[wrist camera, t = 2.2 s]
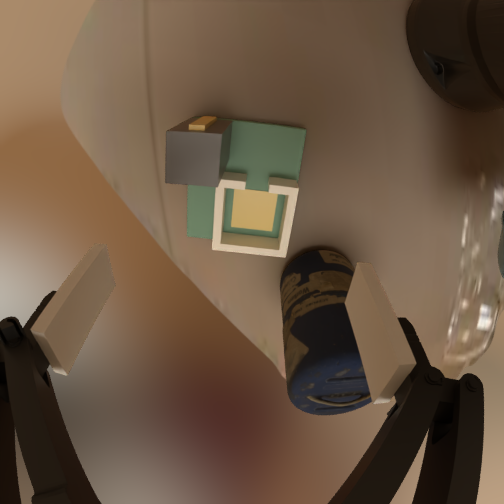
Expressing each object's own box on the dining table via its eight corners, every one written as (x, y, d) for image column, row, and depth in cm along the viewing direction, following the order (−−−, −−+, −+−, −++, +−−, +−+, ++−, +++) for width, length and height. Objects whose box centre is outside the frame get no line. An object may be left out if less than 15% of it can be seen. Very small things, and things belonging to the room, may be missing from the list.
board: (193, 116, 27) (191, 118, 26) (304, 128, 28) (306, 130, 27) (189, 231, 34) (187, 236, 33) (285, 241, 34) (285, 247, 33)
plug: (191, 114, 26) (166, 125, 19) (233, 116, 26) (222, 128, 19) (188, 157, 28) (165, 183, 22) (228, 160, 28) (217, 187, 22)
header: (219, 171, 29) (216, 178, 27) (296, 180, 29) (298, 188, 27) (215, 237, 33) (212, 249, 31) (284, 245, 33) (285, 257, 31)
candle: (294, 235, 34) (316, 366, 19) (366, 255, 35) (419, 375, 20) (269, 297, 39) (271, 424, 24) (334, 312, 40) (360, 429, 25)
